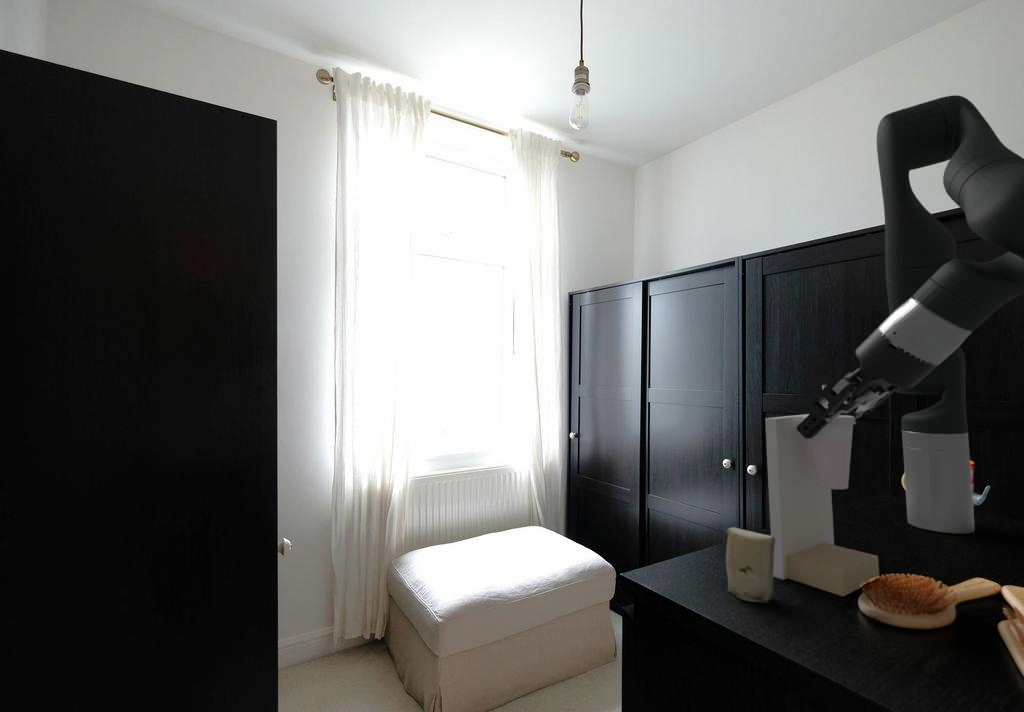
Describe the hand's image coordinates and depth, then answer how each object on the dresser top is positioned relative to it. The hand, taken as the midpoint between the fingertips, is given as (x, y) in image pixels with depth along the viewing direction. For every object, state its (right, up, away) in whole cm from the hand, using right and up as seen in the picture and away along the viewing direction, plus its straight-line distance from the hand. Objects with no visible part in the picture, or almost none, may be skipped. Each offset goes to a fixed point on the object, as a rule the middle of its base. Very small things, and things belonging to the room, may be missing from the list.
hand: (815, 431), depth 70 cm
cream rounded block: (-12, -20, -7) cm, 25 cm away
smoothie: (+1, -7, -2) cm, 8 cm away
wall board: (+1, -20, -1) cm, 20 cm away
